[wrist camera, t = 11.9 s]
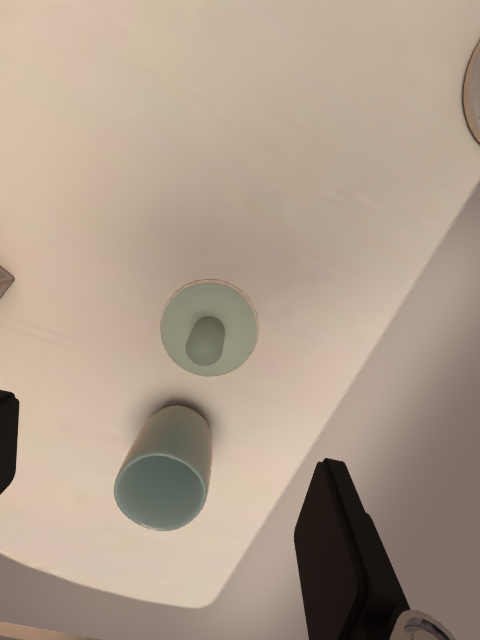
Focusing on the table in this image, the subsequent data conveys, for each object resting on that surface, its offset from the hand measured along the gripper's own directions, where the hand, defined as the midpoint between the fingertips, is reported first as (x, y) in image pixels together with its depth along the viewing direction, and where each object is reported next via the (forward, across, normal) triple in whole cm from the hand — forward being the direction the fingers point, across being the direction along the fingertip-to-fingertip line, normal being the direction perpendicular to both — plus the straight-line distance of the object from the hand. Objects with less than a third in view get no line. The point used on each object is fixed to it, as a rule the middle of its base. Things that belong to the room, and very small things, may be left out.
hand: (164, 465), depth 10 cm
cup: (+24, +2, +15) cm, 29 cm away
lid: (+24, +1, +3) cm, 24 cm away
